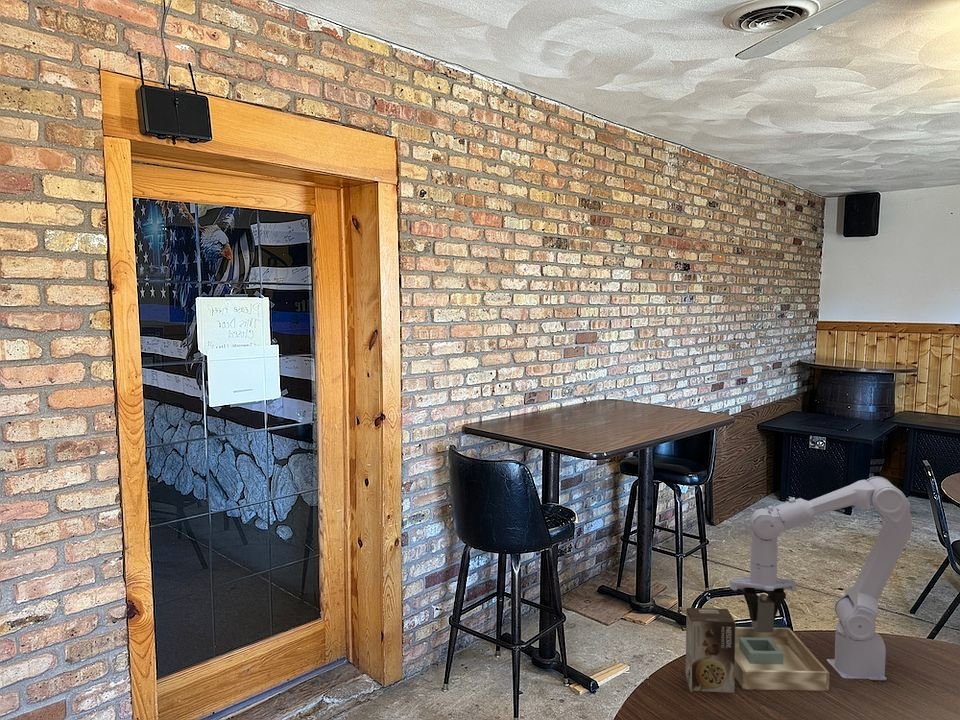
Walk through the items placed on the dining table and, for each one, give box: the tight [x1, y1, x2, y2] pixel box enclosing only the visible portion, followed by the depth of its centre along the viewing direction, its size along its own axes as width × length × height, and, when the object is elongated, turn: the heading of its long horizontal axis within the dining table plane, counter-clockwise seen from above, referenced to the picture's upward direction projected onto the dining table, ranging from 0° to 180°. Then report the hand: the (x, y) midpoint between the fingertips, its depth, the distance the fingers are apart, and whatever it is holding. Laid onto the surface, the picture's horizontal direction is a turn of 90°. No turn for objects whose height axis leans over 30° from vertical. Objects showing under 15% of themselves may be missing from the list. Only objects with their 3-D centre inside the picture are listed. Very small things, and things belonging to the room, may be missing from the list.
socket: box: [739, 637, 784, 664], centre depth 156 cm, size 7×7×2 cm
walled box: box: [735, 626, 830, 692], centre depth 152 cm, size 18×20×4 cm
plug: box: [751, 593, 775, 633], centre depth 154 cm, size 4×4×8 cm
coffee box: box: [685, 607, 736, 694], centre depth 144 cm, size 9×6×16 cm
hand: (761, 619), depth 155 cm, fingers closed on plug, 4 cm apart
